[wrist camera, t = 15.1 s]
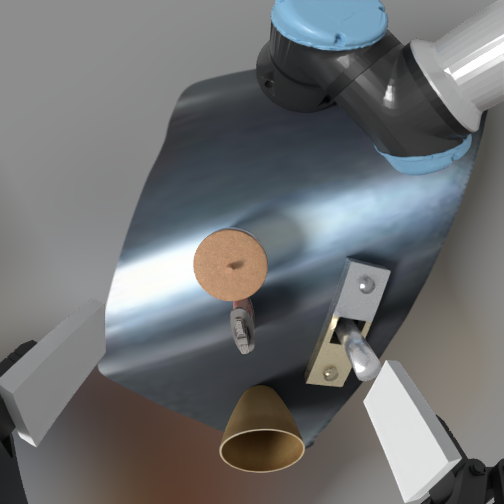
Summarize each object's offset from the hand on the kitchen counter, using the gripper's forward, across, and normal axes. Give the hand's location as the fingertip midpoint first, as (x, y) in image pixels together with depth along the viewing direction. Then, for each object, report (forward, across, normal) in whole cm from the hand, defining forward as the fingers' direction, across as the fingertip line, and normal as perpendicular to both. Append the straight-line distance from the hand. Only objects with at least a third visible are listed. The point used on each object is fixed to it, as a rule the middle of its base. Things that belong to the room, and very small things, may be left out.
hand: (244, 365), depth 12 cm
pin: (+37, +21, -14) cm, 45 cm away
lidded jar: (+37, -2, -5) cm, 37 cm away
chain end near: (+37, +21, -9) cm, 43 cm away
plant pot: (+37, +10, -35) cm, 52 cm away
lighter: (+37, +2, -15) cm, 40 cm away
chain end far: (+37, +21, -19) cm, 46 cm away
